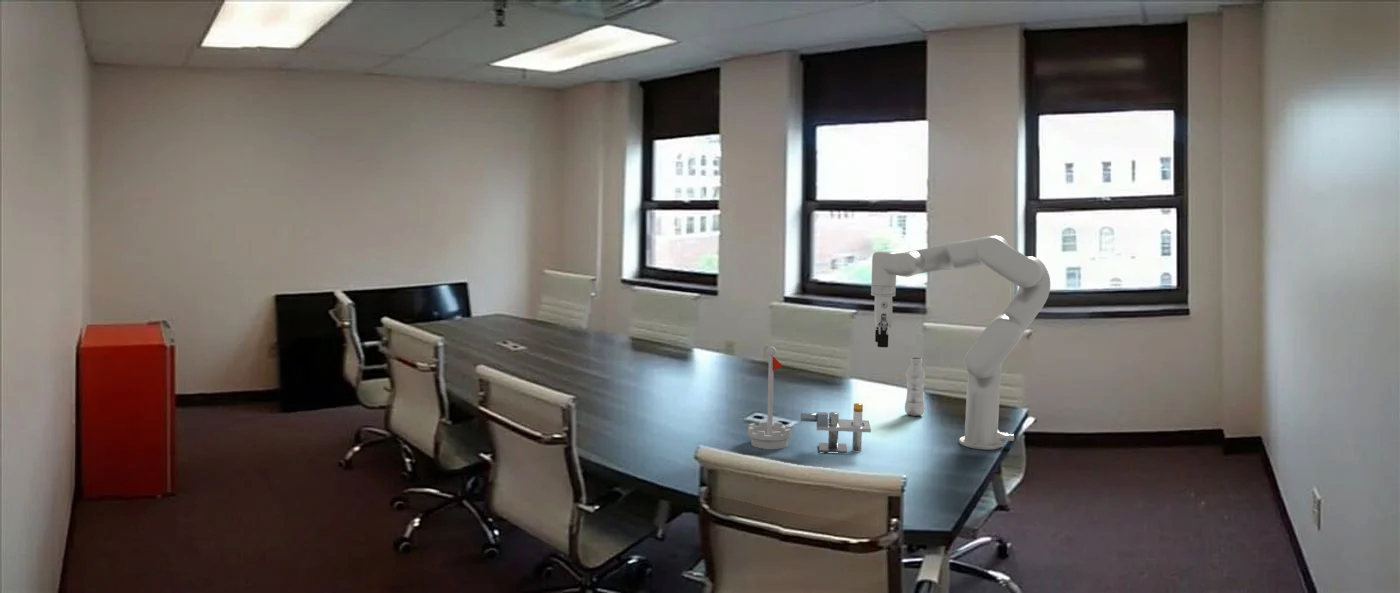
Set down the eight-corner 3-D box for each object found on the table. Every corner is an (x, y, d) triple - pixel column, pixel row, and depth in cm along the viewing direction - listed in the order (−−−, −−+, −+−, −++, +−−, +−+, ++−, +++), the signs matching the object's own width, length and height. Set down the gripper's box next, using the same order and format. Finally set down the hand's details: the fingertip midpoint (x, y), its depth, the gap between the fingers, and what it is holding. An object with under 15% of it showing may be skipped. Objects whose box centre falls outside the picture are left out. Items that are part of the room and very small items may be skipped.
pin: (860, 449, 265) (862, 403, 264) (861, 452, 263) (863, 405, 261) (852, 449, 265) (853, 403, 264) (852, 451, 263) (854, 405, 261)
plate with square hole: (867, 446, 268) (868, 410, 267) (869, 456, 259) (871, 418, 257) (800, 443, 271) (801, 408, 270) (799, 452, 261) (800, 416, 260)
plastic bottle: (926, 417, 304) (928, 360, 302) (906, 417, 305) (908, 359, 302) (921, 413, 311) (924, 356, 309) (902, 413, 311) (904, 356, 309)
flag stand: (739, 442, 271) (740, 345, 268) (771, 436, 279) (773, 341, 276) (767, 452, 261) (769, 351, 258) (799, 445, 269) (802, 347, 265)
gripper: (898, 294, 272) (896, 349, 274) (892, 288, 289) (891, 340, 291) (873, 293, 273) (871, 348, 274) (869, 287, 290) (867, 339, 292)
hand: (881, 344), depth 283 cm, fingers open, 9 cm apart
